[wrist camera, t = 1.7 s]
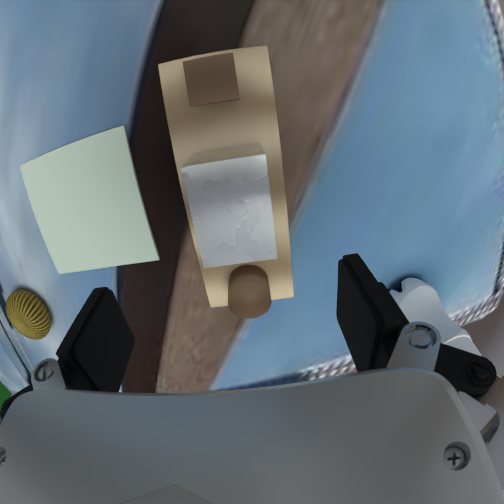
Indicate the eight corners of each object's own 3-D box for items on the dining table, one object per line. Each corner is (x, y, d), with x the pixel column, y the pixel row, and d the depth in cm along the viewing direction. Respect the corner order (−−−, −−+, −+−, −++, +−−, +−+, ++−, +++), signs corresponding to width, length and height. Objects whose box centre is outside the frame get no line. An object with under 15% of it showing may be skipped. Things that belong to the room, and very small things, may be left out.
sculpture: (-7, 304, 28) (22, 297, 27) (7, 287, 31) (36, 280, 31) (22, 345, 31) (53, 344, 31) (33, 328, 35) (64, 325, 34)
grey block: (193, 153, 21) (180, 167, 16) (260, 142, 21) (265, 154, 16) (210, 235, 24) (204, 268, 20) (270, 227, 24) (277, 258, 20)
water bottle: (412, 316, 36) (490, 468, 14) (371, 315, 35) (445, 493, 13) (434, 273, 32) (540, 428, 10) (392, 268, 31) (503, 455, 10)
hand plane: (170, 69, 21) (141, 57, 14) (263, 54, 20) (273, 33, 13) (213, 283, 31) (207, 336, 24) (287, 273, 31) (300, 325, 24)
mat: (21, 164, 23) (19, 165, 23) (125, 124, 23) (123, 125, 22) (60, 272, 30) (58, 274, 30) (160, 257, 29) (159, 259, 29)
